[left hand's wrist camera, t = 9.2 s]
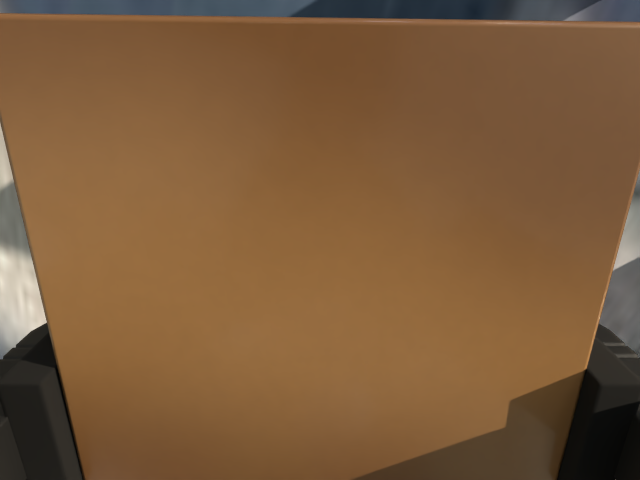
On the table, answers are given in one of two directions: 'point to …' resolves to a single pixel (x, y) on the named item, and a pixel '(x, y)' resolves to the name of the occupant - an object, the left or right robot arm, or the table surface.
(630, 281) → the table surface
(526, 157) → the thick board
